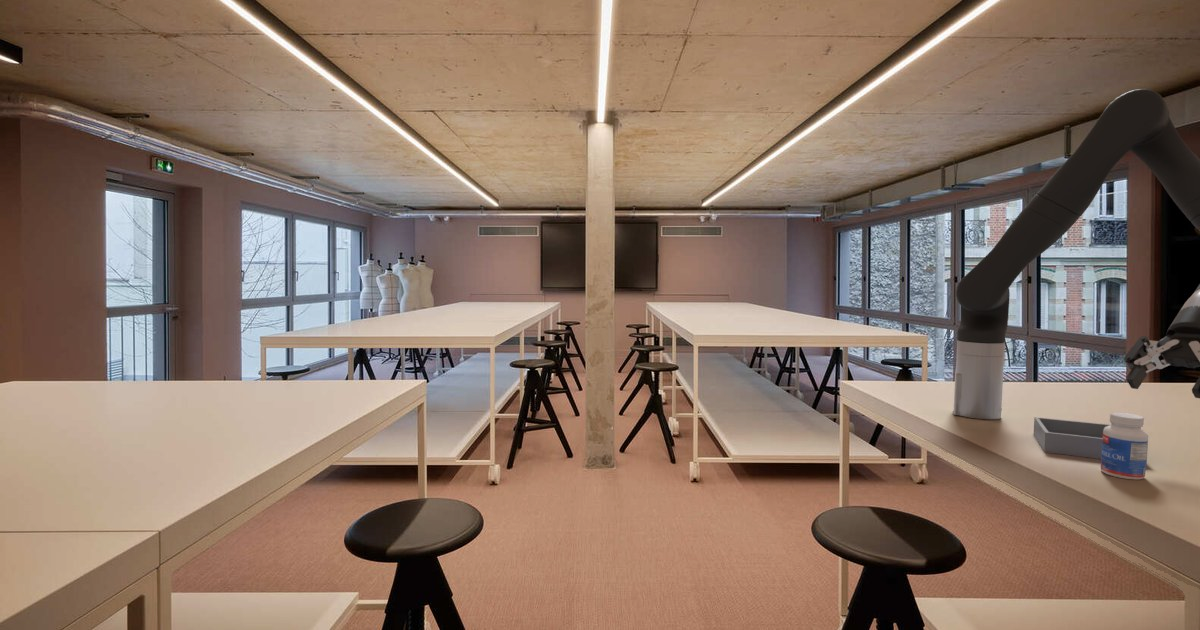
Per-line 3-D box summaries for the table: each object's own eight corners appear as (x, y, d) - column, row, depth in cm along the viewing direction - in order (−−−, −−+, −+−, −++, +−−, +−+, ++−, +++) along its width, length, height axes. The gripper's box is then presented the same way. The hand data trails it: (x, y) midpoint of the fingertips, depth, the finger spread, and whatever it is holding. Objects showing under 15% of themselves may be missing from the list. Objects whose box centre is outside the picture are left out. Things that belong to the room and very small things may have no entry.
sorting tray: (1044, 451, 106) (1045, 432, 106) (1033, 434, 118) (1034, 417, 118) (1146, 464, 99) (1147, 443, 99) (1124, 444, 111) (1125, 426, 111)
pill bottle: (1091, 469, 97) (1094, 411, 96) (1121, 468, 97) (1124, 411, 96) (1123, 481, 91) (1127, 419, 91) (1155, 480, 92) (1159, 418, 91)
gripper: (1148, 302, 105) (1103, 368, 102) (1259, 306, 92) (1211, 382, 89) (1164, 331, 107) (1121, 397, 104) (1274, 338, 94) (1229, 414, 91)
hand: (1163, 390), depth 96 cm, fingers open, 8 cm apart
